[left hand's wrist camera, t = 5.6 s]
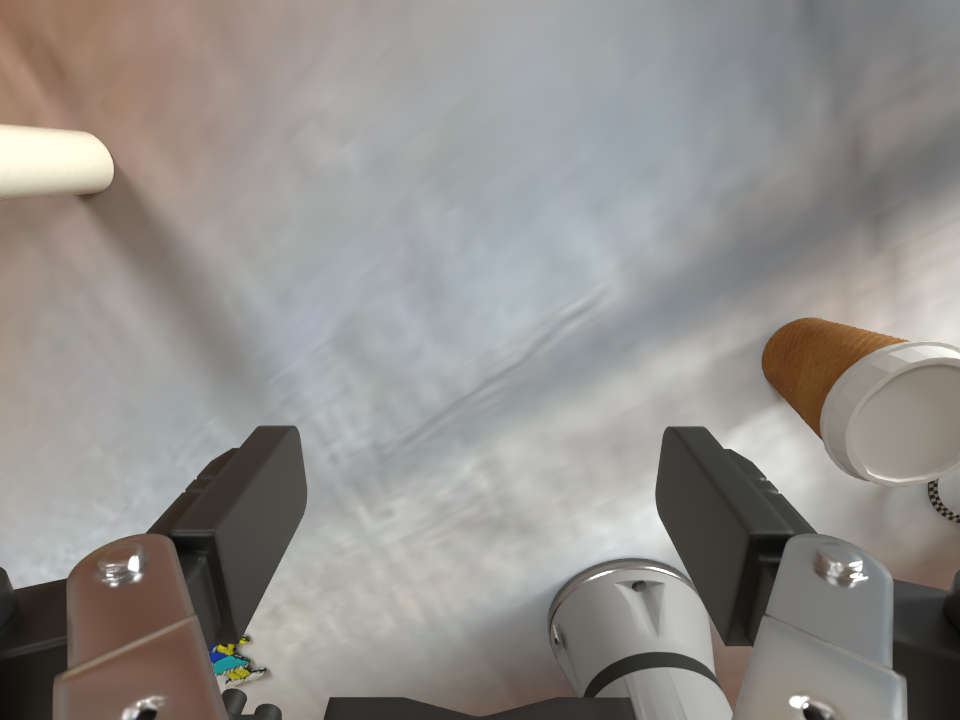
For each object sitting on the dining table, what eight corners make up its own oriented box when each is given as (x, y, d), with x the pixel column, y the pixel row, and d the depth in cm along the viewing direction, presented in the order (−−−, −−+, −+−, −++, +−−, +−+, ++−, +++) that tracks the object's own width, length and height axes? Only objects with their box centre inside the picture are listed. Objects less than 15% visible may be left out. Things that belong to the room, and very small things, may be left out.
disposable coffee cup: (741, 307, 40) (843, 363, 29) (867, 288, 40) (1021, 336, 28) (740, 416, 43) (831, 504, 32) (856, 399, 43) (990, 482, 32)
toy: (188, 703, 54) (95, 604, 50) (192, 696, 55) (101, 597, 50) (270, 675, 53) (183, 569, 48) (273, 667, 54) (188, 563, 49)
